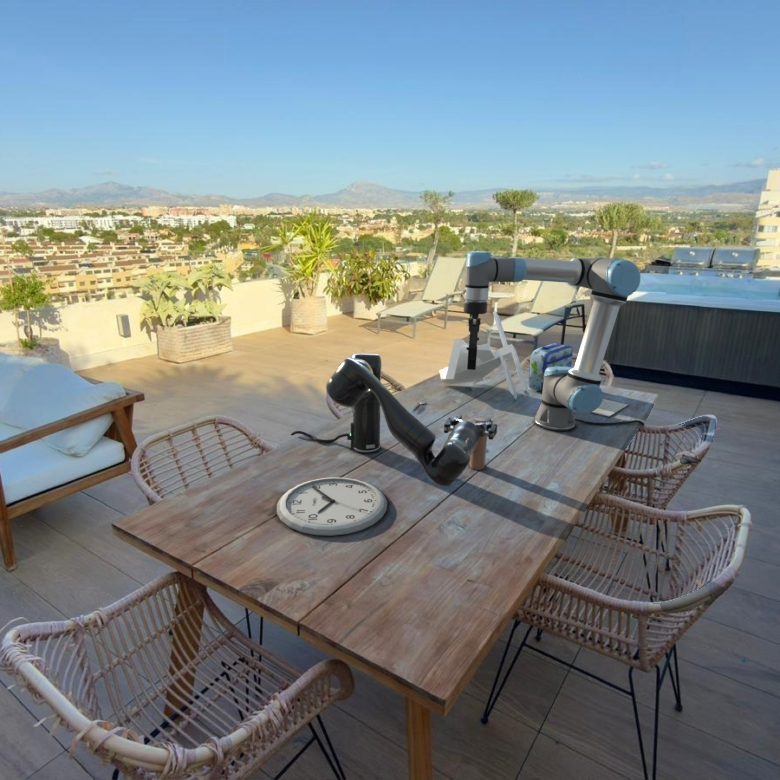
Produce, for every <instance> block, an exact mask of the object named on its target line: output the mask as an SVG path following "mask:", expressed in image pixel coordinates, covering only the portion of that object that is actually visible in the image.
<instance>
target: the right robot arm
mask: <svg viewBox="0 0 780 780" xmlns="http://www.w3.org/2000/svg"><path fill="white" fill-rule="evenodd" d="M491 253H492V252H490V251H477V250H476V251H474V250H472V251H469V252H467V255H466V262H465V283H464V289H463V290H462V293H463V294H464V301H463V312H464V313H465V314H469V315H470V317H468V320H467V321H468V322H467V324H468V332H469V340H468V346H469V347H467V350H468V364H467V369H469V370H476V357H477V346H478V342H479V341H480V337H479V336H478V335H479V332H480V326H481V323H482V319H481V317H479V316H480V315H484V314H487V313H488V302H487V301H488V300H489V289H490V288H489V287H490V286H489V285H490V283H519V282H523V281H535V282H536V281H537V282H551V283H552V282H553V283H567V285H569V286H573V287H581V288H585V289H589V290H591V293H590V296H591V299H592V300H593V302H592V306H591V309H590V312H589V316H588V319H587V322H586V326H585V329H584V333H583V336H582V339H581V342H580V346H579V350H578V352H577V353H578V354H577V355H576V356H577V357H576V359H575V363H574V366H573V367H572V366H571V367H560V366H557V367H548V368H547V369H546V370H545V373H544V382H543V391H541V392H542V394H541V402H540V405H539V407H538V410H537V411H536V413H535V417H534V424H535V425H536V426H537V427H539V428H542V429H544V430H549V431H556V432H567V431H572V430H574V429H575V428H576V422H578V423H582V424H587V425H594V426H595V425H597V426H615V425H624V424H625V425H627V424H635V423H639V424H640V425H643V426H645V423H644V422H643V421H641V420H639V419H633V420H628V421H625V420H624V421H615V422H594V421H587V420H584V419H583V420H582V419H578V418H575V417H576V416H575V413H576V414H579V415H589V414H591V413H592V411H594V410H596V409H597V408H598V407H599V406H600V404H601V403H602V400H603V399H604V392H603V390H602V388H601V387H600V386H601V383H602V380H603V378H602V377H601V375H600V371H601V368H602V364H603V361H604V359H605V354H606V352H607V350H608V346H609V343H610V339H611V337H612V333H613V330H614V326H615V323H616V320H617V318H618V317H617V316H618V313H619V310H620V308H621V307H622V306H623V305H624V304H626V303H627V300H628V298H629V296H631V295H633V294H634V293H635V292H636V291H638V289H639V286H640V283H641V272H640V269H639V267H638V266H637V264H635V263H634V262H633V261H631V260H628V259H624V258H614V257H601V256H600V257H599V256H598V257H585V258H578V257H573V258H571V260H566V259H565V260H563V259H547V258H534V257H533V258H530V257H514V256H501V255H500V256H499V255H493V254H491Z"/></svg>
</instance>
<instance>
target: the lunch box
mask: <svg viewBox="0 0 780 780" xmlns="http://www.w3.org/2000/svg"><path fill="white" fill-rule="evenodd" d="M573 356H574V355H573V347H572V346H571V345H566V344H560V343H551V344H548V345H544V346H541V347H538V348H536V349H534V350H533V351H532V353H531V355H530V359H529V370H528V371H529V372H528V389H531V390H536V391H541V392H542V391H543V382H544V373H545V370H546V369H547V368H548V367H557V366H560V367H572V365H573V363H572V362H573Z"/></svg>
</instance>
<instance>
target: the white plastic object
mask: <svg viewBox="0 0 780 780" xmlns="http://www.w3.org/2000/svg"><path fill="white" fill-rule="evenodd" d="M492 315H493V319H494V321H495V324H496V325H495V326H496V328H497V332H498V335H499V338H500V342H501V345H502V347H500V348H498V349H496V350H495V349H493V348H492V347H491V346H490V344H489V343H488V342H487V343H483V344H479V345H478V344H477V357H476V370H469V369H467V364H468V350H467V347H469V344H468V343H466V342H465V340H464V339H463V338H460V339H458V338H454V340H453V344H452V349H451V353H450V357H449V362H448V366H446V367H444V368H442V369H440V370H439V371H438V372H439V376H440V381H442V383H443V384H444V385H445V386H449V385H458V384H467V383H468V384H469V383H473V384H477V383H480V382H482V381H484V378H485V377H486V376H487V375H489V374H490V373H492V372H494V371H495V370H496V369H497V368H499V367H500V366H502V370H503V373H504V376H505V380H506V383H507V386H508V390H509V393H510V394H511V395H512V397H513V398H514V399H515V400H517V392H516V391H517V390H516V388H515V385H514V381H513V378H512V375H511V371H510V369H509V365H508V361H510V360H513V363H514V366H515V369H516V372H517V376H518V380H519V382H520V385H521V389H522V391H523V393H524V395H525V396H526V397H528V396H531V395H530V390H529V386H528V384H527V381H526V378H525V375H524V371H523V369H522V368H523V367H522V366H521V362H520V359H519V355H518V352H517V349H516V347H515V346H514V345H513V343H511V344H508V341H507V337H506V334H505V331H504V328H503V325H502V321H501V318H500V315H499V314H498V312H497V311H496V310H495V311H492Z"/></svg>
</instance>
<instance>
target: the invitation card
mask: <svg viewBox="0 0 780 780" xmlns="http://www.w3.org/2000/svg"><path fill="white" fill-rule="evenodd" d="M628 406H629V404H627V403H623V402H618V401H614V400H609V399H605V398H603V400H602V403H601V404H600V406H599V407H598V408H597V409H596V410H594V411H592V412H591V413H593V414H596V415H600V416H604V417H608V418H609V417H611V416H613V415H614V414H616V413H617V412H619V411H621V410H623V409H624V408H626V407H628Z"/></svg>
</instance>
